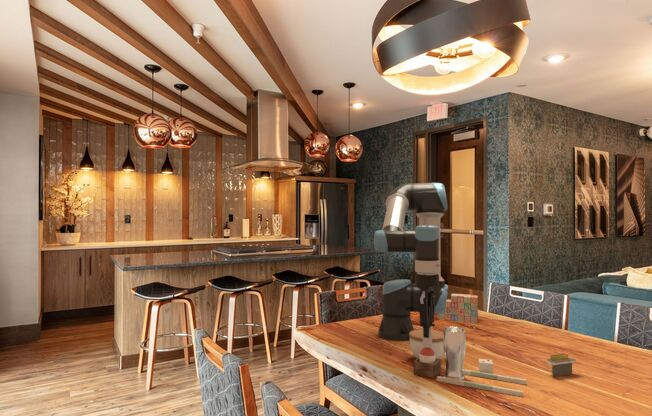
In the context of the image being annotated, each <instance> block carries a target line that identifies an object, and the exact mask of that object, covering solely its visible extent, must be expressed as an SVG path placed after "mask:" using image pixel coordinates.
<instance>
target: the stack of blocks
mask: <svg viewBox="0 0 652 416" xmlns="http://www.w3.org/2000/svg"><path fill="white" fill-rule="evenodd" d="M439 319H440V320H441V321H449V320H451V321H452V322H461V321H462V323H472V322H473V323H474V324H478V320H479V296H478V295H476V294H468V293H467V294H464V293H463V294H461V293H451V295H450V299H448V298H447V301H446V307H445V311H444V312H442V313H434V320H439Z"/></svg>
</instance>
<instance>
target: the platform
mask: <svg viewBox="0 0 652 416" xmlns="http://www.w3.org/2000/svg"><path fill="white" fill-rule="evenodd" d="M564 354H565V353H556V354H550V358H547V359H546V362H547V363H548V364H549V365H551V375H552V377H553V378H555V377H561V376H568V375H573V363H577V359H576V358H572V357H571V358H570V357H569V354H567V355H564Z"/></svg>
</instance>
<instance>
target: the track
mask: <svg viewBox="0 0 652 416" xmlns="http://www.w3.org/2000/svg"><path fill="white" fill-rule="evenodd" d="M445 368H446V365H445V366H444V369H445ZM463 371H464V375H467V376H473V377H479V378H485V379H490V380H496V381H503V382H508V383H514V384H520V385H524V386H525V385H527V379H526V378H519V377H512V376H507V375H501V374H495V373H493V374H490V373H484V372H479V370H478V371H476V370H472V369H471V370H470V369H464V368H463ZM436 381H437V382H440V383H447V384H452V385H456V386H461V387H467V388H474V389H478V390H479V389H480V390H484V391H489V392H494V393H495V392H496V393H500V394H506V395H512V396H517V397H524V390H518V389H513V388H508V387H502V386H496V385H490V384H484V383H481V382H476V381H467V380H458V379H452V378H447V377H444V376H441V375H440V376H439V375H438V376H437V377H436Z"/></svg>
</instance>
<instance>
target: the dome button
mask: <svg viewBox="0 0 652 416" xmlns="http://www.w3.org/2000/svg"><path fill="white" fill-rule="evenodd" d="M419 362H424V363H430V364H434V363H435V353H434V351H433V350H432V349H431V348H427V347H425V348H423V349H422V350H421V351H420V353H419Z"/></svg>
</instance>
